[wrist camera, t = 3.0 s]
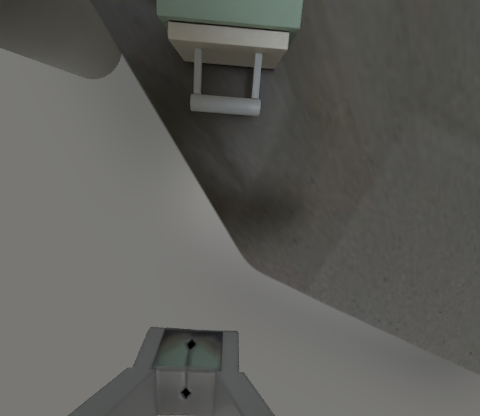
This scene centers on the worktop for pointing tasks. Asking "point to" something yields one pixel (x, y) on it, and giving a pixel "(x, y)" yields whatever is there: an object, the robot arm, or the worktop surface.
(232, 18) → the cabinet
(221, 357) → the robot arm
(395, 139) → the worktop surface
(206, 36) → the drawer
